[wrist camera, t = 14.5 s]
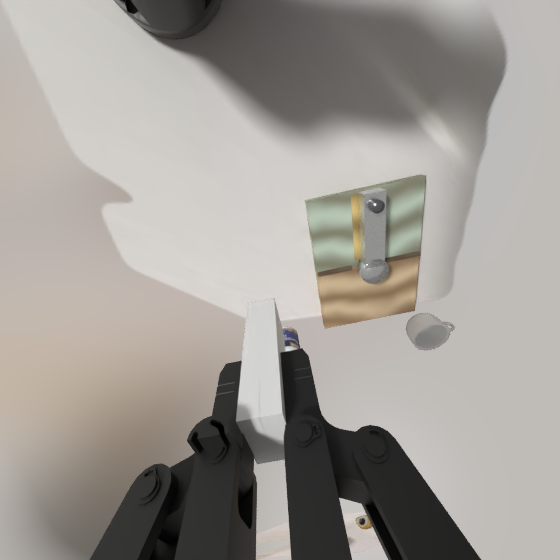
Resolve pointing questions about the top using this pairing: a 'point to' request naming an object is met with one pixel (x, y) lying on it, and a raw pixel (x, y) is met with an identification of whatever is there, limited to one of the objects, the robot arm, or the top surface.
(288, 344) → the pill bottle
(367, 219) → the latch arm
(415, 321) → the teacup
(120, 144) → the top surface
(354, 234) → the door board
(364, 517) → the pastry
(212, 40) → the top surface
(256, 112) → the top surface
